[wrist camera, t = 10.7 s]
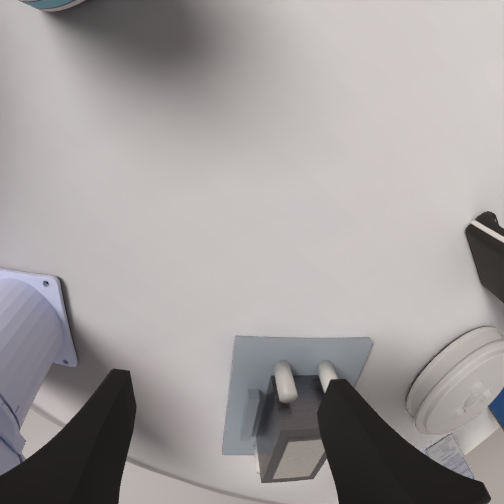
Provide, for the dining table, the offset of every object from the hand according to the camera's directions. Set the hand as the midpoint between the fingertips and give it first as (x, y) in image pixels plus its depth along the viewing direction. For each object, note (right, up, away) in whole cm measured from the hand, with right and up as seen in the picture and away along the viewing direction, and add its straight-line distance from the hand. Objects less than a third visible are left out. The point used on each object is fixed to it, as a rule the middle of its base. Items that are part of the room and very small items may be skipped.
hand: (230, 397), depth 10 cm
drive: (+4, -8, +13) cm, 16 cm away
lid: (+22, -7, +16) cm, 28 cm away
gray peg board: (+4, -8, +14) cm, 16 cm away
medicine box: (+29, -24, +24) cm, 45 cm away
